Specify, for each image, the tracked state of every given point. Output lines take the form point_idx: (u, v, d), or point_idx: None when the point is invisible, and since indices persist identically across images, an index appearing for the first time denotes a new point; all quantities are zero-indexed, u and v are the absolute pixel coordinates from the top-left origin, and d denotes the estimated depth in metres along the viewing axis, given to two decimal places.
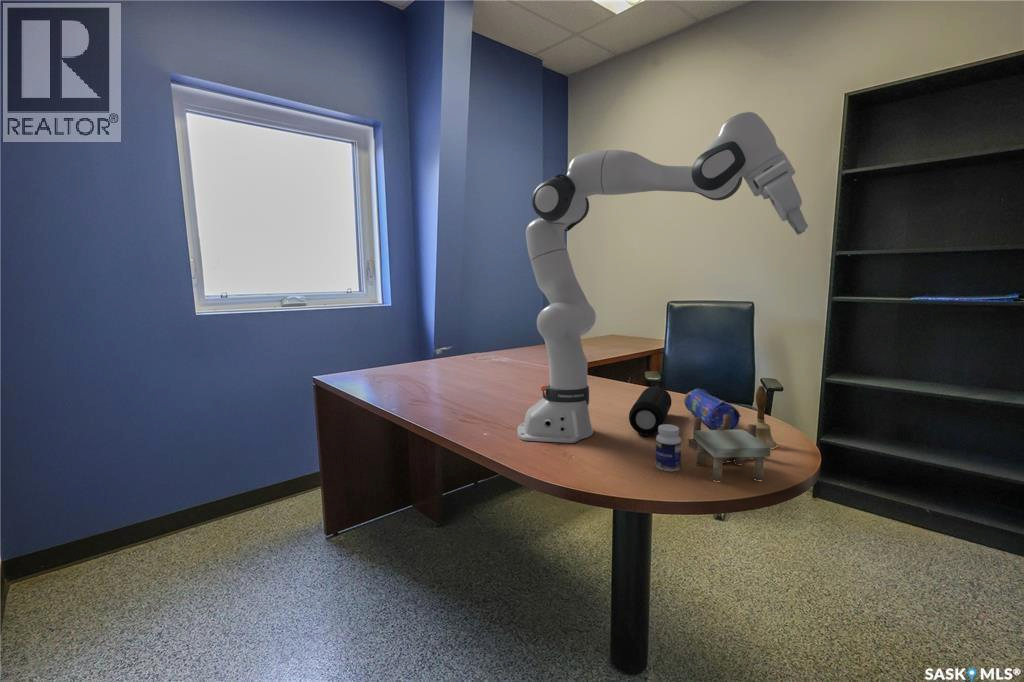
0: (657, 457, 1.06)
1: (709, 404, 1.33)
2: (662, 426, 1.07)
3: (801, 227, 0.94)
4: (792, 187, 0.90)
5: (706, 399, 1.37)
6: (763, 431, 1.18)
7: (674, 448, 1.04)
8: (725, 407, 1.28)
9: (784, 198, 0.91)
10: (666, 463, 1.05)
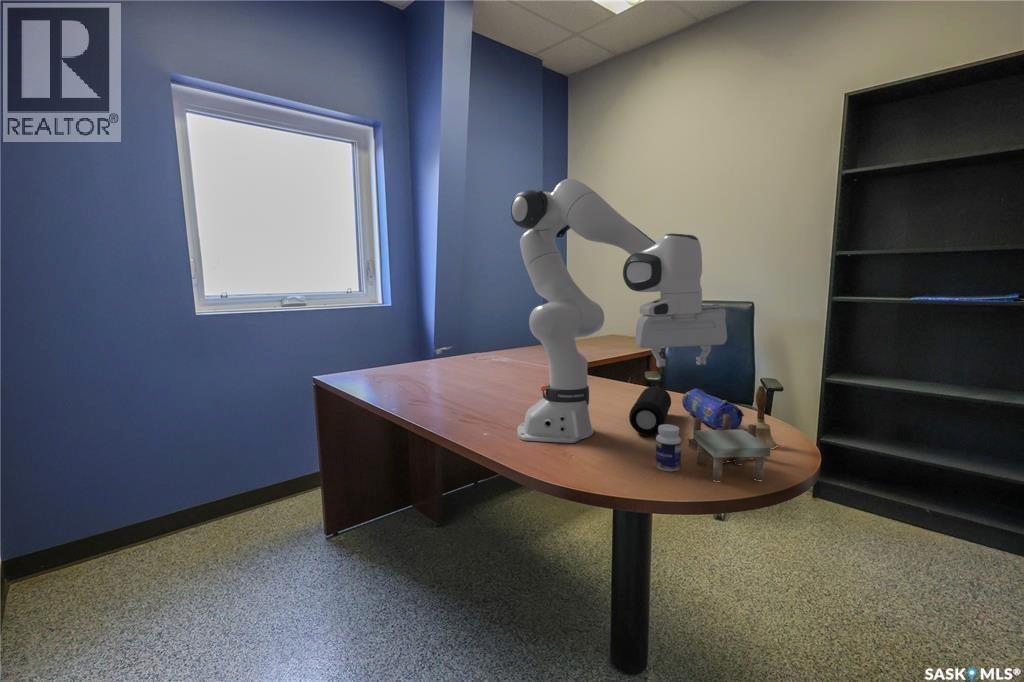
0: (657, 457, 1.06)
1: (711, 404, 1.33)
2: (662, 426, 1.07)
3: (657, 364, 1.03)
4: (641, 332, 1.00)
5: (707, 399, 1.37)
6: (763, 431, 1.18)
7: (674, 448, 1.04)
8: (729, 407, 1.28)
9: (637, 336, 1.02)
10: (666, 463, 1.05)
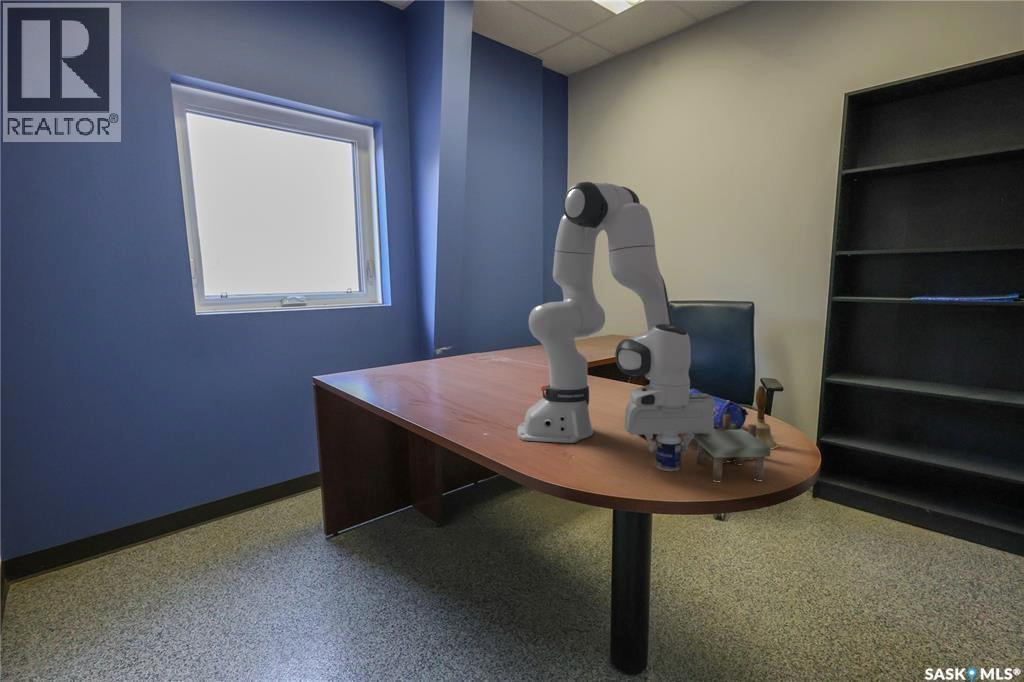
0: (657, 457, 1.06)
1: (714, 404, 1.33)
2: None
3: (649, 448, 1.07)
4: (628, 419, 1.04)
5: None
6: (763, 431, 1.18)
7: (674, 448, 1.04)
8: (734, 406, 1.28)
9: (625, 421, 1.07)
10: (666, 463, 1.05)
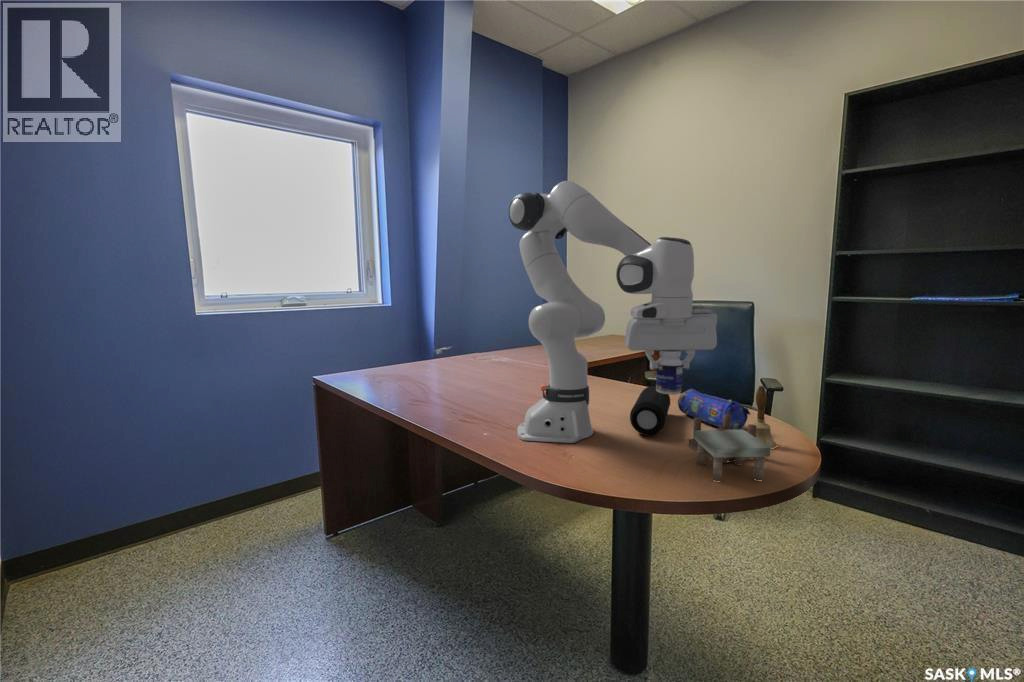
0: (658, 381, 1.04)
1: (716, 404, 1.33)
2: None
3: (650, 366, 1.05)
4: (629, 334, 1.02)
5: (709, 399, 1.36)
6: (763, 431, 1.18)
7: (676, 370, 1.01)
8: (736, 406, 1.29)
9: (626, 338, 1.04)
10: (667, 385, 1.02)
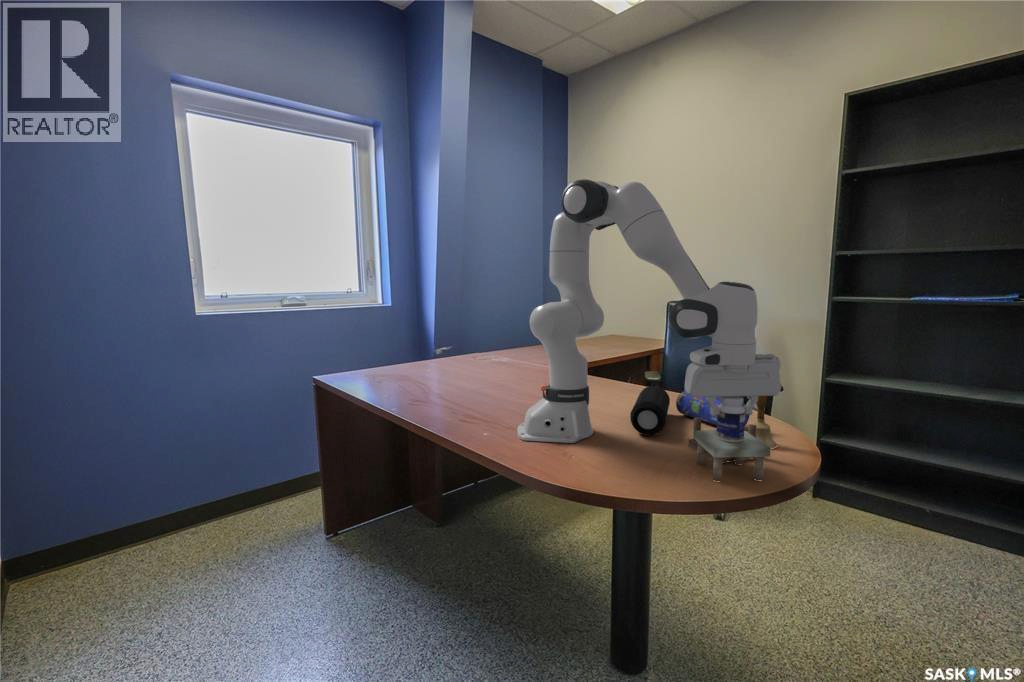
0: (719, 428, 1.02)
1: (718, 404, 1.33)
2: None
3: (711, 411, 1.02)
4: (690, 381, 1.00)
5: None
6: (763, 431, 1.18)
7: (739, 418, 0.99)
8: None
9: (686, 384, 1.02)
10: (730, 433, 1.00)
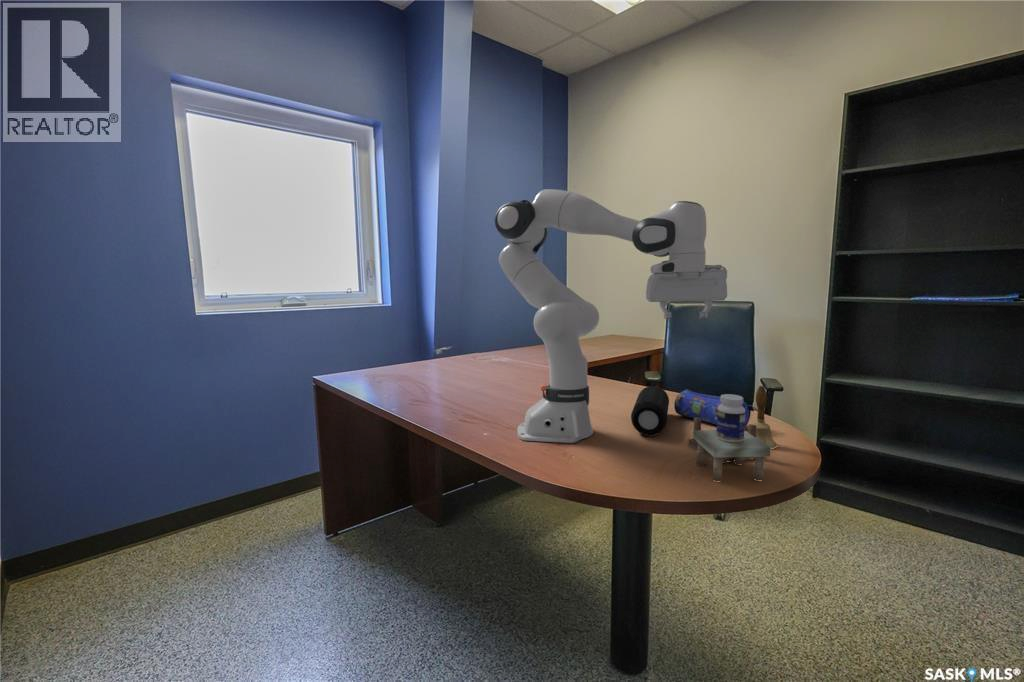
0: (719, 428, 1.02)
1: None
2: (724, 396, 1.02)
3: (664, 316, 1.19)
4: (650, 287, 1.16)
5: (711, 399, 1.36)
6: (763, 431, 1.18)
7: (739, 418, 0.99)
8: (743, 404, 1.30)
9: (647, 292, 1.18)
10: (730, 433, 1.00)
